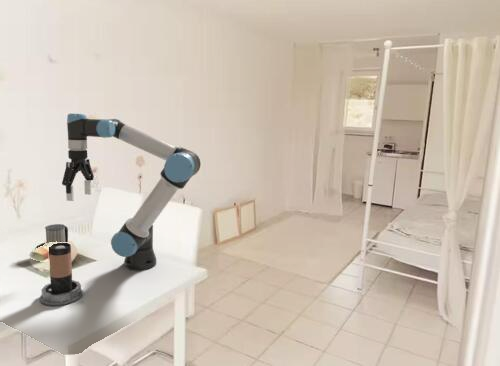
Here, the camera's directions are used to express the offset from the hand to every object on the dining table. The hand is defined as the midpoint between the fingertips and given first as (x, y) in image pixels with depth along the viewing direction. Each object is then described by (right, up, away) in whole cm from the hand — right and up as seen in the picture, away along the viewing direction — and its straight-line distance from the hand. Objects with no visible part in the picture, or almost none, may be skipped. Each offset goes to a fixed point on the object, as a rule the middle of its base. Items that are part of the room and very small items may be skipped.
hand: (79, 197), depth 167 cm
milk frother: (-26, -30, +26) cm, 47 cm away
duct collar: (+1, -39, -18) cm, 43 cm away
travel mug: (+2, -38, -18) cm, 42 cm away
